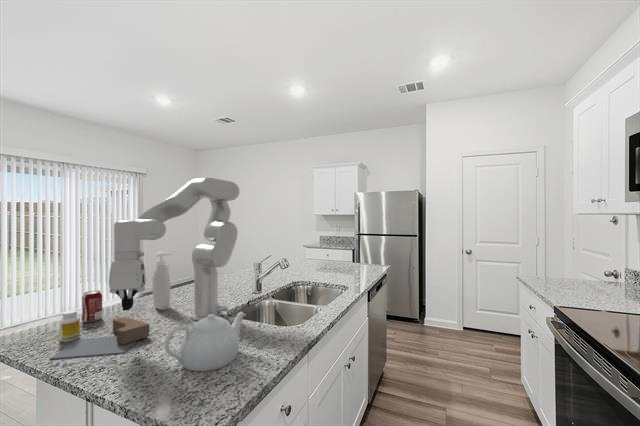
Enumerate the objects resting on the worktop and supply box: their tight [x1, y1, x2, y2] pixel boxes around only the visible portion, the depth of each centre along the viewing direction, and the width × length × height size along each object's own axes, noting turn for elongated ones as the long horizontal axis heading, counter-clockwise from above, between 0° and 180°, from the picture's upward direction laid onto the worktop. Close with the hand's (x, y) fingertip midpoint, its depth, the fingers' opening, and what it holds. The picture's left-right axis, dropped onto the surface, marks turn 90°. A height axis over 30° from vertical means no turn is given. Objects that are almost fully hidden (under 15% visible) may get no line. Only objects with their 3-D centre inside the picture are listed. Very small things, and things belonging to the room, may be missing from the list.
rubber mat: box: [49, 335, 137, 361], centre depth 99 cm, size 21×14×1 cm, turn 100°
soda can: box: [81, 289, 103, 323], centre depth 124 cm, size 7×7×12 cm
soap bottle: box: [151, 251, 173, 311], centre depth 140 cm, size 14×8×27 cm, turn 48°
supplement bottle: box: [59, 309, 81, 343], centre depth 105 cm, size 5×5×10 cm
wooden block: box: [112, 316, 150, 345], centre depth 107 cm, size 9×4×18 cm
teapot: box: [164, 311, 247, 372], centre depth 90 cm, size 19×18×14 cm
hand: (127, 309), depth 100 cm, fingers closed
